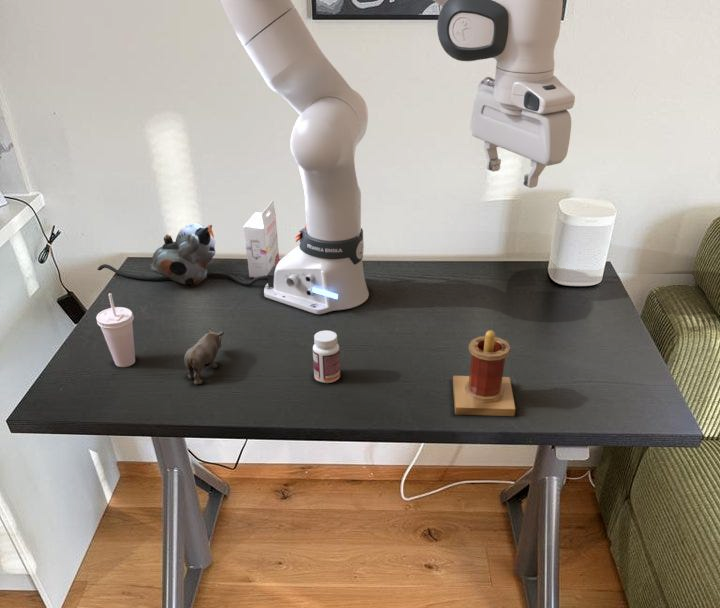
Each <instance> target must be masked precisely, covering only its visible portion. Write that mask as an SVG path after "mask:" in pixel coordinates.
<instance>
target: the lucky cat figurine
mask: <svg viewBox="0 0 720 608" xmlns="http://www.w3.org/2000/svg"><path fill="white" fill-rule="evenodd" d="M163 242H164V244H162V245H161V247H158V248H157V249H155V251H154V252H153V254H152V258H151V263H150V264H149V265H148V266H147V267H148V269H149V270H151V271H152V272H155V273H157V274H159V275H162V276H166V277H168V278H170V280H172V281H174V282H176V283H179V284H183V285H188V284H190V285H191V287H195V286H197V285H198V284H200V283H201V282H202V281H204V280H205V279H206V278H207V277H208V276H207V272H208V265H209V263H210V262H211V261H212V259H213V257H214V256H215V255H216V248H215V247H216V243H217V241H216V240H215V234H214V231H213V225H212V224H208V226H206V227H205V225H203V224H200V223H188V224H187V225H185V226H183V227H181V228H180V230H179V231H178V232H177V235H176V238H175V241H174V240H173V238H172V236H171V235H169V234H166V235H165V236H164V237H163Z"/></svg>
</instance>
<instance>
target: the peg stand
mask: <svg viewBox="0 0 720 608" xmlns="http://www.w3.org/2000/svg"><path fill="white" fill-rule="evenodd" d="M484 336H485V342H484V351H485V352H493V349H494V342H495V337H496V333H495V331H493V330H492V329H491V330H490V329H489V330H487V331H486V332H485V335H484ZM469 376H470V375H452V391H453V393H452V394H453V405H454V415H460V416H461V415H462V416H463V415H464V416H496V417H515V414H516V404H515V399H514V393H513V388H512V383H511V377H510V376H503V377H502V385H503V387H504V394H503V396H502V398H501V399H499V400H497V401H495V402H479V401H475V400H473V399H471V398H469V397H468V396H467V395H466V393H465V390H464V389H465V385H466V383H467V382H468V381H469Z"/></svg>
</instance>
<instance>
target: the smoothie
mask: <svg viewBox="0 0 720 608" xmlns="http://www.w3.org/2000/svg"><path fill="white" fill-rule="evenodd" d="M107 295H108V299H109V303H110V307H109V308H106V309H103V310H101V311H100V312H98V313H97V314H96V317H95V319H96V323H97V325H98V326H99V327H100V330H101V332H102V334H103V337H104V339H105V342H106V345H107V347H108V350H109V352H110V355H111V358H112V360H113V363H114V364H115V366H117V367H120V368H127V367H130V366H132V365H134V364H135V363H136V353H135V352H136V351H135V341H134V340H135V339H134V326H133V325H134V324H133V321H134V314H133V311H132V310H131V309H129V308H127V307H123V306H115V303H114V299H113V294H112V293H111V292H109V293H108V294H107Z"/></svg>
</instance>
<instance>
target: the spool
mask: <svg viewBox="0 0 720 608" xmlns="http://www.w3.org/2000/svg"><path fill="white" fill-rule="evenodd" d="M484 342H485V335H482V336H477V337H475V338H473V339H472V340H471V341H470V343H469V344H468V350H469V353H470V354H471V358H470V368H469V375H468V376H469V381H468V382H467V383H466V385H465V389H464V390H465V393H466V395H467V396H468V397H469V398H471V399H473V400H475V401H479V402H495V401H497V400H499V399H501V398H502V396H503V394H504V387H503V385H502V377H504V369H505V364H506V363H505V362H506V358H507V357H508V356H509V354H510V352H511V345H510V344H509V342H508V341H506V340H505V339H503V338H501V337H497V336H495V342H494V349H493V352H485V351H484Z"/></svg>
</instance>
